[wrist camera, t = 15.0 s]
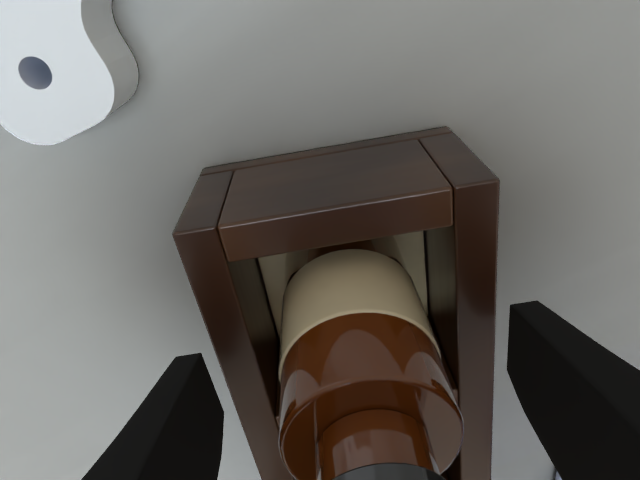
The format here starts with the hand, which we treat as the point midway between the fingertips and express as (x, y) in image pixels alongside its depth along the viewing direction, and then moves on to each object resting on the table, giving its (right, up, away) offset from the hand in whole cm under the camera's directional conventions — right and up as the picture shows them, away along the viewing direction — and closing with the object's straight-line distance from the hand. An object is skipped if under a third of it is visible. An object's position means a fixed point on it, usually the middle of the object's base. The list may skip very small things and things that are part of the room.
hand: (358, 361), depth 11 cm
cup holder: (+1, -3, +7) cm, 8 cm away
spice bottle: (0, +2, +4) cm, 4 cm away
